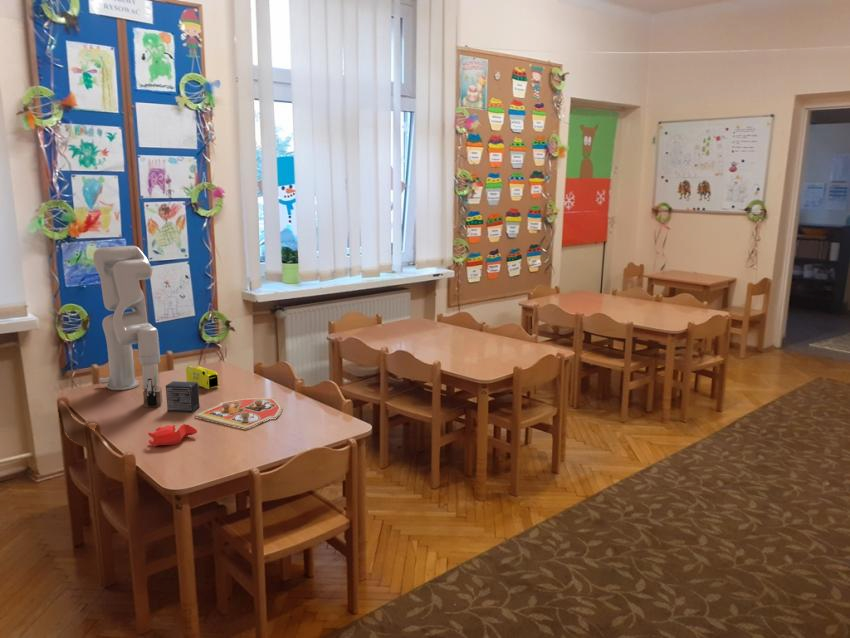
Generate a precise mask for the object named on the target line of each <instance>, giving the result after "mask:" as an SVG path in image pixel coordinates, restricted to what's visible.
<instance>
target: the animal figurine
mask: <svg viewBox="0 0 850 638" xmlns="http://www.w3.org/2000/svg"><path fill="white" fill-rule="evenodd" d="M176 427H177V425H176V424H172V425H165V426H160V427H158V428H156V429H155V431H153V432H148V433H147V435H148V436H149V437H151V438H152V440H151V439H148V443H149V444H150V445H151V446H152V447H153V446H154V447H159V445H160V446H170V445H171V446H172V445H173V446H174V445H178V444H180V443H181V442H182V440H183V439H184V438H186V437H185V436H187V437H189V436H188V435H190V436H192V435H195V434H197V433H198V429H197V428H195V427H193V426H191V425H189V424H186V423H185V424H182V425H180V426H179V428H178V429H177V430H176ZM183 437H184V438H183ZM180 441H181V442H180ZM179 442H180V443H179ZM177 443H178V444H177ZM154 447H153V448H154Z"/></svg>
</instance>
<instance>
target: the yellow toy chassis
mask: <svg viewBox="0 0 850 638" xmlns="http://www.w3.org/2000/svg"><path fill="white" fill-rule="evenodd" d="M185 374H186V382H198V388H200V387H202V388H204V389H205V390H212V389H214V388H217V387H219V386H220V385H219V384H220V383H219V381H220V380H219V374H218V373H217V371H215V370H212V369H209V368H206V367H202V366H200V365H199V366H197V367H194V366H190V365H187V367H186V368H185Z"/></svg>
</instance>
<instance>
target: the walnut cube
mask: <svg viewBox="0 0 850 638" xmlns="http://www.w3.org/2000/svg"><path fill="white" fill-rule="evenodd" d="M153 388H154V387H153ZM152 391H153V390H152ZM142 394H143V395H142V397H143V405H144V406H143V407H144V408H152V407H161V406H162V404H163V393H162V386H157V387H156V388H155V395H156V401H157V405H154V406H148V401H147V387H146V389H143V393H142Z"/></svg>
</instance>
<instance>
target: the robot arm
mask: <svg viewBox="0 0 850 638" xmlns="http://www.w3.org/2000/svg"><path fill="white" fill-rule="evenodd" d="M92 259H93V264H94V268H95V270H96V272H97V273H98V276H99V278H100V284H101V285H100V287H101V292H102V300H103V305H104V308H105V309H106V310H108V311H111V312H112V311H113V312H114V313H112V314H108V315H107V316H105V317H104V318H103V320H102V323H101V325H102V330H103V332H104V336H105V340H106V346H107V349H106V350H107V356H108V357H107V358H108V366H109V367H108V368H109V376H107V377H99V378H98V379H99V380H98V381H99V383H100V384H106V388H107V389H108V390H110V389H111V391H125V390H132V389H134V388H137V387H138V386H139V385H140V381H139V380H137V379H136V376H135V375H136V374H135V365H134V364H135V363H134V354H133V353H134V352H133V346H132V345H137V347H138V348H137V349H138V359H139V364H140V365H141V366H142V368H141V372H142V373H141V374H142V375H141V376H142V389H143V390H145V389H146V388H147V401H148V406H154V405H157V401H156V395H155V388H156V387H158V385H159V368H158V367H159V366H158V364H159V363H161V353H160V341H159V339H160V338H159V331H158V328H156V327H154V326H153V325H152V324H151V323H150V322H149V321H148V315H147V307H146V306H147V305H146V297H145V294H144V292H143V290H142V288H141V284H140V281H141V280H142V281H144V280H150V279H151V278H152V276H153V275H152V274H153V268H152V265H151V263H150V261H149V259H148V257H147V256H146V255H145V254H144V253H143V251H142V250H141V249H140V247H138V246H136V245H121V246H120V245H119V246H105V247H101V248H97V249H96V250H94V252H93V258H92ZM129 309H131V310H132V311H127V312H125V311H126V310H129ZM153 387H154V388H153ZM152 390H153V391H152Z"/></svg>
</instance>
